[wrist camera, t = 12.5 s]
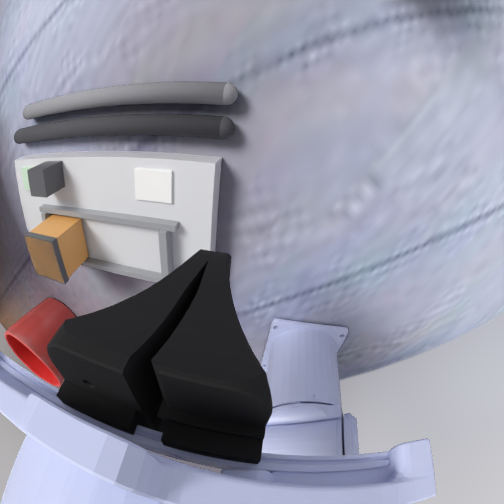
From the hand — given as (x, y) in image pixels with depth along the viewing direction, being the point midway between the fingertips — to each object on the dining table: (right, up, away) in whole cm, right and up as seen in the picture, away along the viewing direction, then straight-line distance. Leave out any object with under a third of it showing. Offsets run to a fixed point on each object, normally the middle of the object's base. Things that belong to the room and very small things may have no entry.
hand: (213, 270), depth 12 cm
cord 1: (-10, +13, +5) cm, 17 cm away
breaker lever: (-16, +2, +10) cm, 18 cm away
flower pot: (-27, -9, +21) cm, 36 cm away
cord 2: (-11, +11, +6) cm, 17 cm away
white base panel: (-12, +5, +10) cm, 17 cm away
